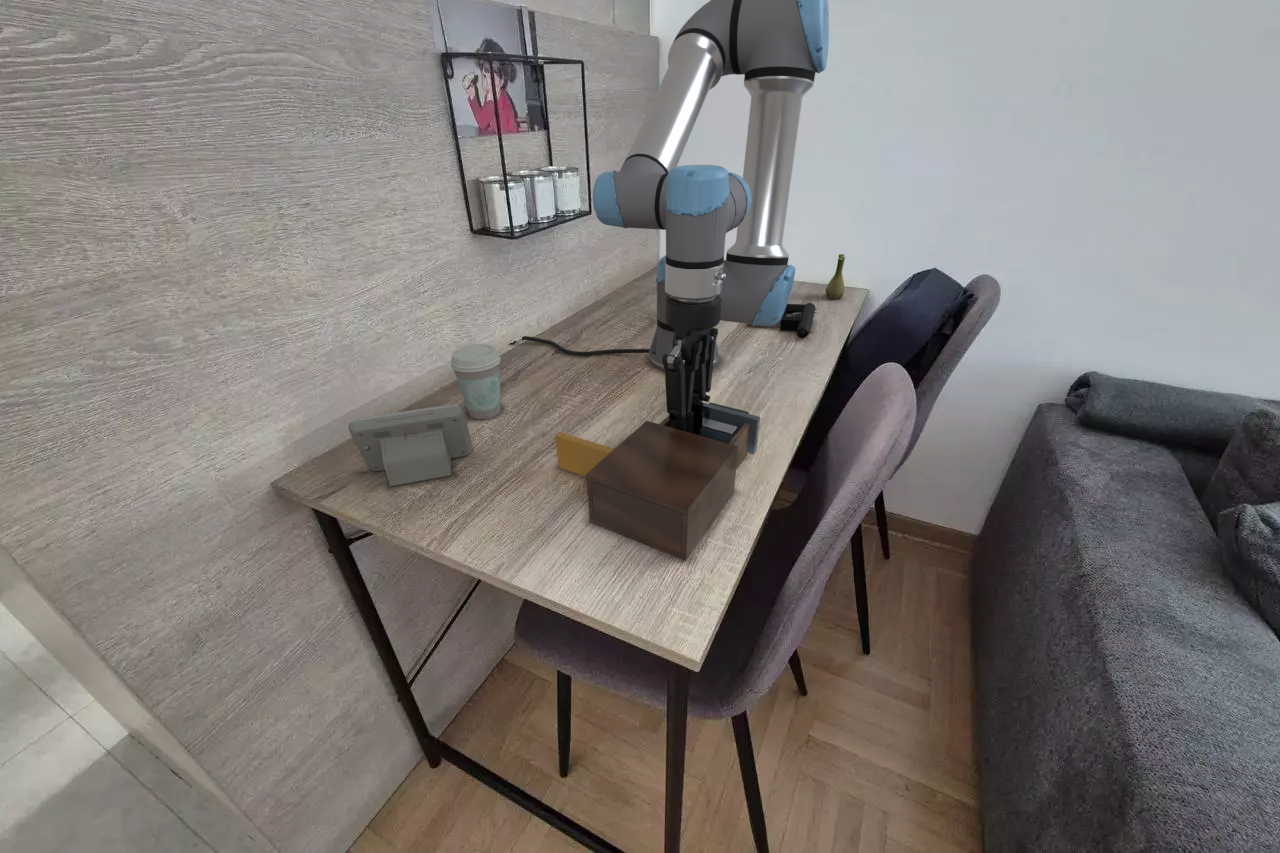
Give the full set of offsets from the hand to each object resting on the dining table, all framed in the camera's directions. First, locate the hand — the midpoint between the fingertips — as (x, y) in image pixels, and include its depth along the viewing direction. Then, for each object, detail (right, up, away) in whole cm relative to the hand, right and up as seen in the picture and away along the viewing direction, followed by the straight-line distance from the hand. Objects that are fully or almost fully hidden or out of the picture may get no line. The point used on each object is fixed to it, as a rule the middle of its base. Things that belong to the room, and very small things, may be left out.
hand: (688, 442), depth 84 cm
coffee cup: (-36, +5, +16) cm, 40 cm away
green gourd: (+48, +39, +70) cm, 93 cm away
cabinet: (-4, -9, -8) cm, 13 cm away
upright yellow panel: (-16, -5, -1) cm, 16 cm away
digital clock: (-42, -4, +2) cm, 42 cm away
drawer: (+3, -2, +1) cm, 4 cm away
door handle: (+29, +28, +53) cm, 66 cm away
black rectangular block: (+2, +3, -3) cm, 5 cm away
